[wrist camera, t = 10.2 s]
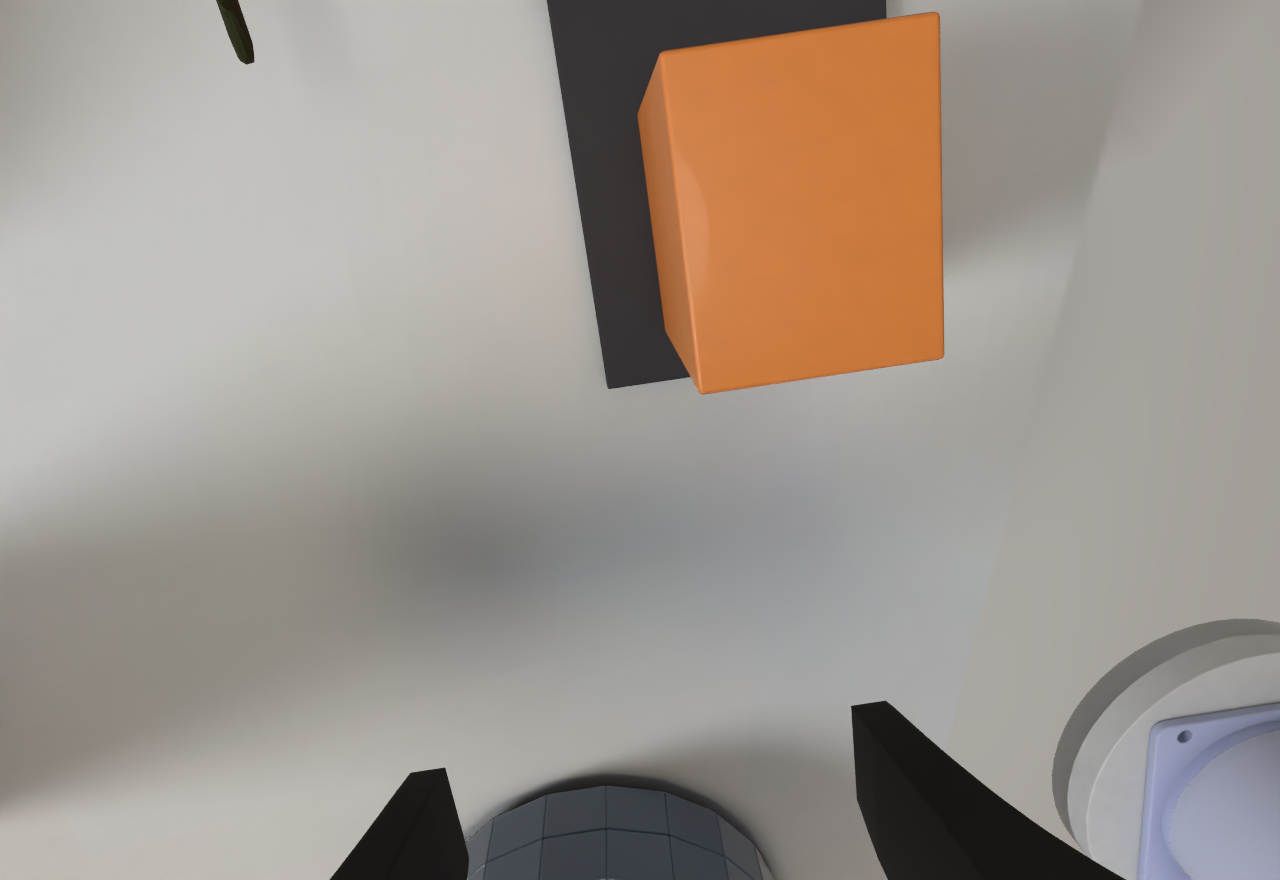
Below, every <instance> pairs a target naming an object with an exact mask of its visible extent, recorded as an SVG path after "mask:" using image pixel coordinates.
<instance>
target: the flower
mask: <svg viewBox="0 0 1280 880" xmlns="http://www.w3.org/2000/svg"><path fill="white" fill-rule="evenodd" d="M216 1H217V4H218V7H219V9H220V12H221V15H222V18H223V21H224V24H225V27H226V29H227V32H228V35H229V38H230V40H231V42H232V45H233V47H234V49H235V52H236V54H237V56H238V58H239V60H240V61H241V62H243V63H245V64H250V63H253V62H254V51H253V44H252V40H251V37H250V34H249V31H248V28H247V25H246V23H245V20H244V17H243V14H242V11H241V8H240V5H239V2H238V0H216Z"/></svg>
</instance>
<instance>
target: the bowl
mask: <svg viewBox="0 0 1280 880" xmlns="http://www.w3.org/2000/svg"><path fill="white" fill-rule="evenodd" d="M465 844H466V847H467V851H468V855H469V868H468V878H467V880H774V878H773V876H772V874H771V873H770V871H769V869H768V867H767V866H766V864H765V862H764V860H763V859H762V857H761V855H760V853H759V851H758V850H757V848H756V846H755V845H754V844H753V843H752V842H751V841H750V840H748V839H747V838H746V837H745V836H744V835H742V834H741V833H740V832H739V831H738V830H736V829H735V828H734V827H733V826H731V825H730V824H729V823H728V822H727V821H725V820H724V819H723V818H722V817H721V816H719V815H718V814H717V813H715V812H714V811H712V810H710V809H707V808H705V807H702V806H700V805H697V804H695V803H692V802H690V801H687V800H685V799H682V798H680V797H677V796H675V795H672V794H670V793H667V792H663V791H655V790H646V789H636V788H627V787H617V786H599V787H592V788H585V789H579V790H572V791H566V792H559V793H553V794H548V795H545V796H542V797H540V798H538V799H535V800H533V801H531V802H529V803H526V804H524V805H522V806H520V807H517V808H515V809H513V810H510V811H508V812H506V813H504V814H501V815H499V816H497V817H495V819H492V820H491V821H490V822H489V823H487V824H486V825H485V826H484V827H483V828H482V829H480V830H479V831H478V832H477V833H476V834H475V835H473V836H472V837H471V838H470V839H469V840H468V841H466V842H465Z"/></svg>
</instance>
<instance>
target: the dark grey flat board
mask: <svg viewBox="0 0 1280 880" xmlns="http://www.w3.org/2000/svg"><path fill="white" fill-rule="evenodd" d="M547 4H548V10H549V16H550V23H551V29H552V36H553V42H554V48H555V55H556V61H557V68H558V74H559V80H560V87H561V93H562V99H563V106H564V112H565V119H566V125H567V131H568V138H569V144H570V150H571V157H572V163H573V170H574V176H575V182H576V189H577V195H578V202H579V208H580V214H581V221H582V227H583V233H584V240H585V246H586V253H587V259H588V265H589V272H590V278H591V285H592V291H593V297H594V304H595V310H596V316H597V323H598V329H599V336H600V342H601V348H602V355H603V361H604V368H605V374H606V380H607V387H608V389H612V388H619V387H626V386H632V385H639V384H646V383H653V382H659V381H666V380H673V379H680V378H686V377H691V376H690V375H689V373H688V371H687V369H686V367H685V366H684V364H683V362H682V360H681V358H680V357H679V355H678V353H677V351H676V349H675V348H674V346H673V344H672V342H671V340H670V338H669V337H668V335H667V333H666V331H665V325H664V317H663V309H662V301H661V294H660V286H659V278H658V270H657V263H656V255H655V247H654V239H653V232H652V224H651V216H650V208H649V201H648V193H647V185H646V177H645V170H644V162H643V154H642V146H641V139H640V131H639V123H638V111H639V109H640V106H641V103H642V101H643V98H644V95H645V92H646V90H647V87H648V84H649V82H650V79H651V76H652V73H653V71H654V68H655V65H656V63H657V60H658V57H659V54H660V53H661V52H663V51H665V50H672V49H679V48H686V47H693V46H700V45H707V44H713V43H720V42H727V41H734V40H741V39H748V38H755V37H762V36H769V35H776V34H783V33H790V32H796V31H803V30H810V29H817V28H824V27H831V26H838V25H845V24H852V23H859V22H866V21H873V20H880V19H886V18H887V17H886V0H547Z"/></svg>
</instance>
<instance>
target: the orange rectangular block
mask: <svg viewBox="0 0 1280 880" xmlns="http://www.w3.org/2000/svg"><path fill="white" fill-rule="evenodd" d="M638 123H639V131H640V139H641V146H642V154H643V162H644V170H645V177H646V185H647V193H648V201H649V208H650V216H651V224H652V232H653V239H654V247H655V255H656V263H657V270H658V278H659V286H660V294H661V301H662V309H663V317H664V325H665V331H666V333H667V335H668V337H669V338H670V340H671V342H672V344H673V346H674V348H675V349H676V351H677V353H678V355H679V357H680V358H681V360H682V362H683V364H684V366H685V367H686V369H687V371H688V373H689V375H690V376H691V378H692V380H693V382H694V384H695V385H696V387H697V389H698V391H699V393H701V394H709V393H716V392H723V391H730V390H736V389H743V388H750V387H756V386H763V385H770V384H777V383H783V382H790V381H797V380H804V379H810V378H817V377H824V376H831V375H837V374H844V373H851V372H858V371H864V370H871V369H878V368H885V367H891V366H898V365H905V364H912V363H918V362H925V361H932V360H939V359H941V358H943V357H944V300H943V226H942V151H941V77H940V16H939V13H936V12H928V13H921V14H914V15H907V16H900V17H893V18H886V19H880V20H873V21H866V22H859V23H852V24H845V25H838V26H831V27H824V28H817V29H810V30H803V31H796V32H790V33H783V34H776V35H769V36H762V37H755V38H748V39H741V40H734V41H727V42H720V43H713V44H707V45H700V46H693V47H686V48H679V49H672V50H665V51H663V52H661V53H660V54H659V57H658V60H657V63H656V65H655V68H654V71H653V73H652V76H651V79H650V82H649V84H648V87H647V90H646V92H645V95H644V98H643V101H642V103H641V106H640V109H639V111H638Z"/></svg>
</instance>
